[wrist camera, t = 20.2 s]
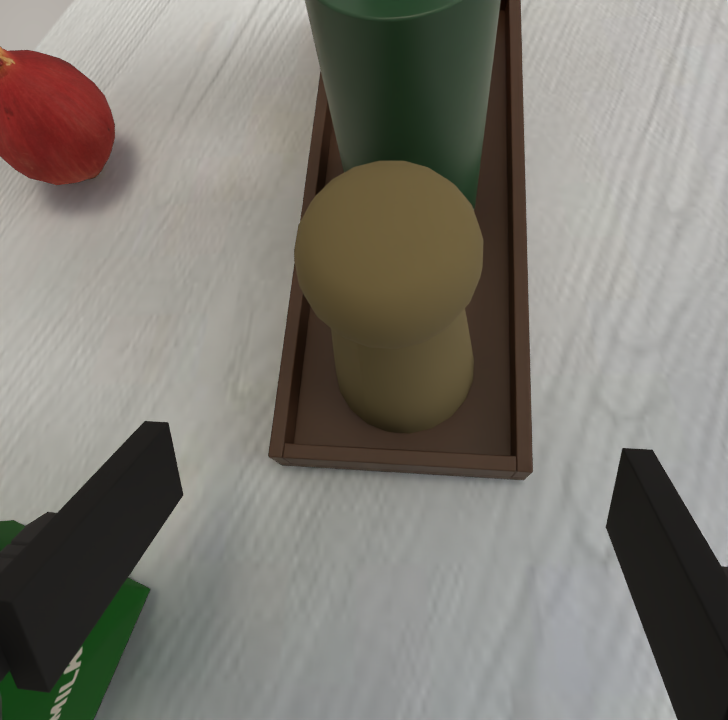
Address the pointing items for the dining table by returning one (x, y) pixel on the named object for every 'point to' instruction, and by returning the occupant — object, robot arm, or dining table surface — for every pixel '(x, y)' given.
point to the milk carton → (78, 659)
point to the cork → (394, 290)
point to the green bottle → (408, 81)
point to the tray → (484, 316)
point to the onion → (52, 119)
